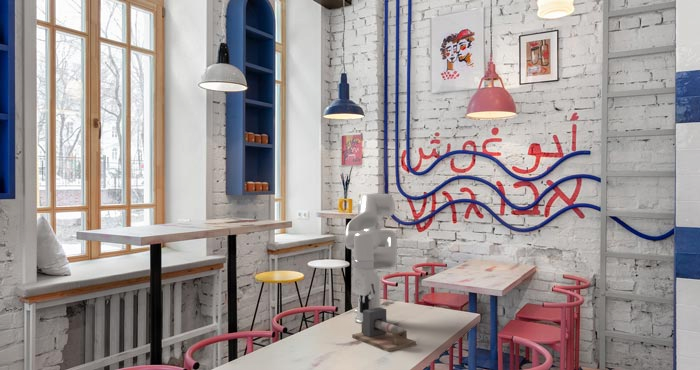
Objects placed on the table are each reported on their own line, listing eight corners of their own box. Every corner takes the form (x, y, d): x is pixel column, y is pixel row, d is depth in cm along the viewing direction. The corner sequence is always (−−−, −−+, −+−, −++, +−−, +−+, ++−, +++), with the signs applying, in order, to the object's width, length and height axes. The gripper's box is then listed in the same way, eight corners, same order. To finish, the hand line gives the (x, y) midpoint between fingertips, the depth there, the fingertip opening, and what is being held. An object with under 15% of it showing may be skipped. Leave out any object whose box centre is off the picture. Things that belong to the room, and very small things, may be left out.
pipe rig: (352, 337, 188) (352, 318, 188) (379, 331, 195) (379, 313, 195) (388, 351, 171) (387, 330, 171) (416, 344, 178) (415, 324, 178)
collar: (363, 334, 186) (362, 310, 187) (379, 330, 191) (379, 307, 191) (369, 336, 183) (369, 312, 183) (386, 333, 188) (386, 309, 188)
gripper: (345, 263, 197) (345, 310, 196) (367, 267, 184) (368, 317, 184) (360, 261, 201) (360, 307, 201) (383, 266, 189) (384, 314, 188)
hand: (364, 312), depth 192 cm, fingers closed
